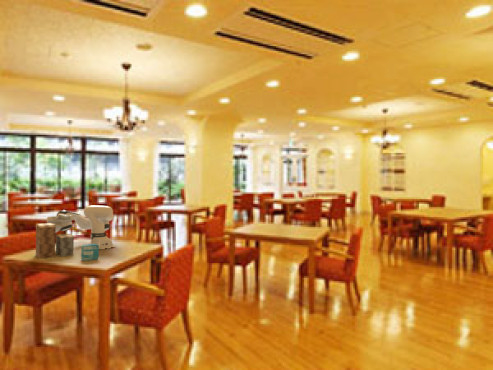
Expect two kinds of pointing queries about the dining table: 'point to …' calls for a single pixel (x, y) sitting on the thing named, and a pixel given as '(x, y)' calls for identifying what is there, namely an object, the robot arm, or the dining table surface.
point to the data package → (89, 252)
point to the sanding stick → (64, 216)
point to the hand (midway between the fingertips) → (62, 215)
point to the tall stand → (45, 240)
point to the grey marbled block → (64, 244)
